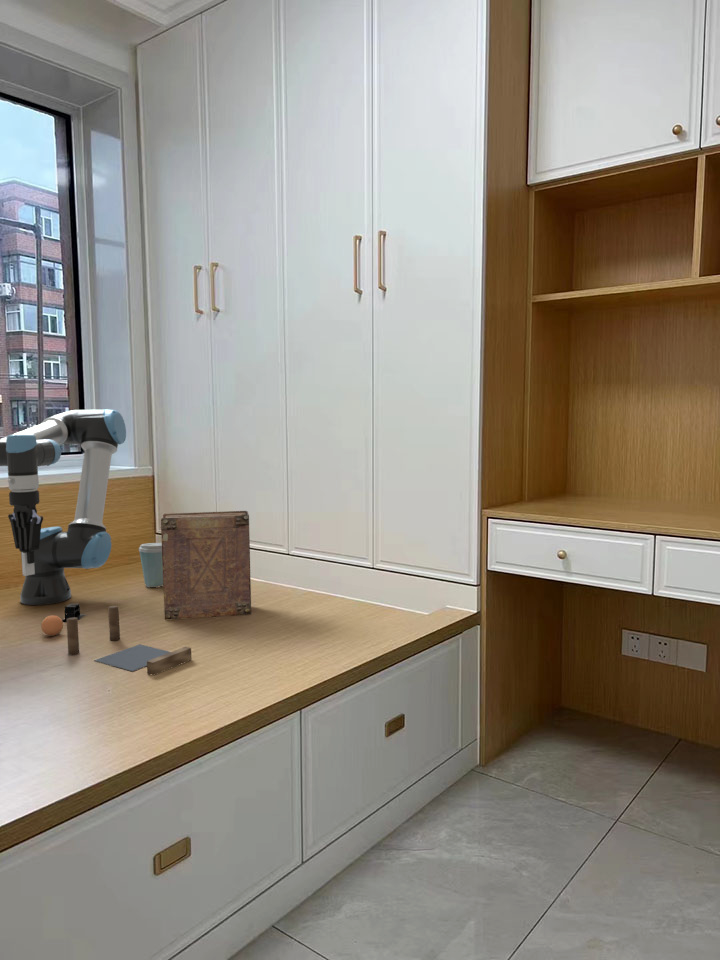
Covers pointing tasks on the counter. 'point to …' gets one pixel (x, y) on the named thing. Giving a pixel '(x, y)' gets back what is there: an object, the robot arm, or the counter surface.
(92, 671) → the counter surface
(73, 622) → the outer post
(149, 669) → the stopper wall
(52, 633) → the ball
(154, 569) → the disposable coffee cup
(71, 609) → the black boxy device
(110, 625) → the inner post
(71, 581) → the counter surface
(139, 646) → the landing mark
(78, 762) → the counter surface
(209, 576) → the book
